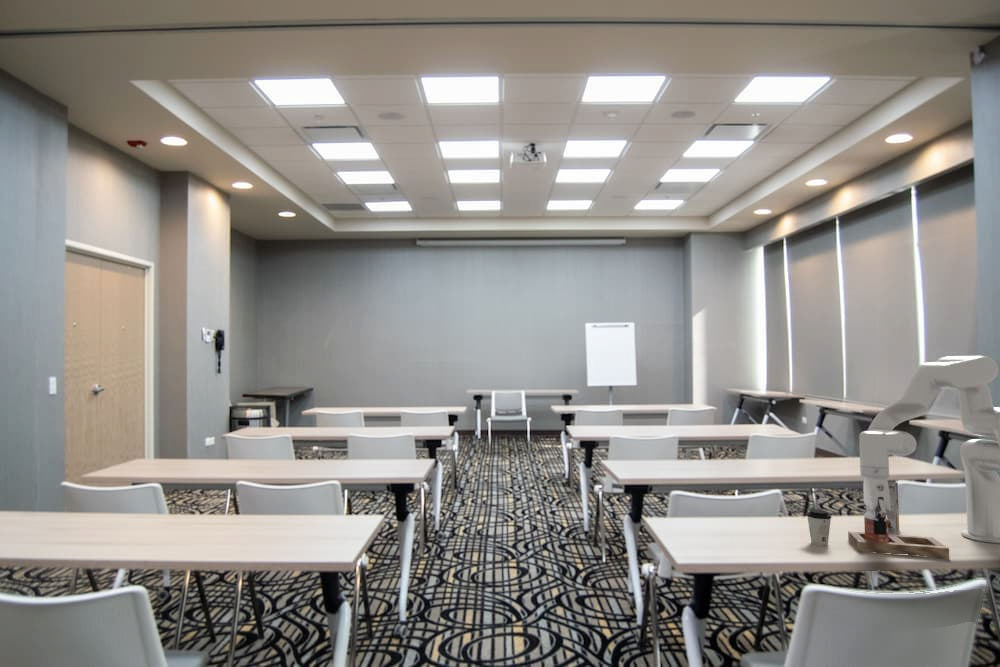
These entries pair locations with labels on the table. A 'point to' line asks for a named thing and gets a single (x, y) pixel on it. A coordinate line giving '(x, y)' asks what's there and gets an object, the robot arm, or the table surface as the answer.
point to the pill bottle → (870, 527)
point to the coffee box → (893, 509)
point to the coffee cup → (819, 526)
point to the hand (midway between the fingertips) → (876, 530)
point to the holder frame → (900, 545)
